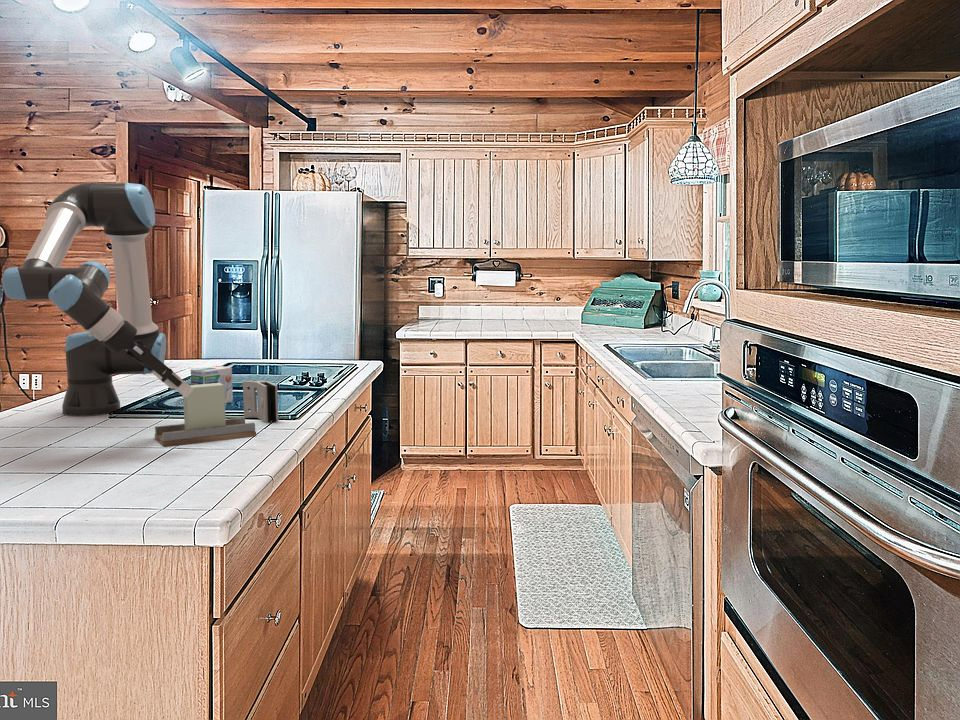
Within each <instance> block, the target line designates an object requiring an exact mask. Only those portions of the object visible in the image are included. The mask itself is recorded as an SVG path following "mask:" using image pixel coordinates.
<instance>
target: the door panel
mask: <svg viewBox="0 0 960 720" xmlns="http://www.w3.org/2000/svg"><path fill="white" fill-rule="evenodd" d="M188 385H189V384H188ZM189 386H191V387H192V388H193V389H194V390H193V391H192V392H191V393H190V394H189V395H188V397H187V398H185V397H184V396H183V395H182V397H183V424H185V430H192V429H201V428H210V427H219V426H226V420H225V419H226V403H225V394H224V385H223V384H221V383H211V384H199V385H191V384H190V385H189Z"/></svg>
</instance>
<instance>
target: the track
mask: <svg viewBox="0 0 960 720" xmlns="http://www.w3.org/2000/svg"><path fill="white" fill-rule="evenodd" d="M225 420H226V426H219V427H210V428H201V429H192V430H185V424H184V423H176V424H167V425H160V426H159V425H157V426H154V438H155V439H154V440H156V441H157V442H159V444H161V445H163V447H165V448H166V447H174V446H182V445H184V446H185V445H190V444H199V443H200V444H201V443H207V442H215V441H224V440H231V439H232V440H233V439H241V438H243V439H244V438H250V437H251V438H252V437H257V431H256V423H255V422H248V423H246V417H245V416H243V417H233V418H225Z"/></svg>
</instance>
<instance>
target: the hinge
mask: <svg viewBox="0 0 960 720" xmlns="http://www.w3.org/2000/svg"><path fill="white" fill-rule="evenodd" d="M242 395H243V396H242V397H243V399H242V400H243V417H249V418H257V419H259V420H261V421H263V422H264V423H269V424H272V423H277V422H279V400H278V399H279V397H278V395H279V392H278V384H275V383H273V382H272V381H267V380H256V381H251V380H243V381H242ZM249 409H250V410H249Z"/></svg>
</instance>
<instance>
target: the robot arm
mask: <svg viewBox="0 0 960 720" xmlns="http://www.w3.org/2000/svg"><path fill="white" fill-rule="evenodd" d="M45 219H46V221H45V222H44V224H43V227H42V228H41V230H40V231H39V234H38V235H37V237H36V238H35V241H34V243H33V245H32V246H31V249H30V250H29V252H28V254H27V255H26V258H25V260H24V261H23V263H22V264H21V266H20V267H19V266H15V267H8V268H6V269H5V270H4V272H3V273H2V278H1V279H2V280H1V281H2V288H3V289H2V290H3V292H4V294H5V296H6V297H7V298H8V299H10V300H18V301H19V300H21V301H23V300H24V301H37V300H38V301H40V300H42V301H43V300H44V301H45V300H46V301H47V300H49V301H51V303H52V304H54V305H55V306H56V307H57V308H58V309H59V310H60V311H62V312H63V313H64V314H66V315H67V316H68V317H70V318H71V319H72V320H73V321H74V322H76V323H77V324H78V325H79V326H81V327H82V328H83V329H84V330H85V331H80V332H75V333H71V334H69V335H67V336H66V338H65V350H64V352H65V364H66V378H67V386H66V387H67V388H66V391H65V395H64V397H63V398H64V399H63V402H62V405H61V407H62V408H61V409H62V410H61V411H62V414H64V415H65V416H73V417H74V416H75V417H77V416H78V417H81V416H83V417H84V416H85V417H86V416H87V417H88V416H89V417H90V416H98V415H99V416H100V415H105V414H111V412H112V413H114V412H113V411H116V410H118V409H120V410H121V402H120V398H119V396H118V394H117V391H116V389H115V386H114V385H113V376H114V375H115V376H116V375H147V374H153V375H154V376H155V377H156V378H158V380H160V381H161V382H162V383H164V384H165V386H167V387H168V388H169V389H171V390H173V389H174V390H175V391H176V392H178V393H179V394H180V395H182V397H183V396H184V397H185V398H187V397H188V395H189V394H190V393H191V392H192V391H193V390H194V389H193V388H192V387H191V386H189V384H188V382H186V381H185V380H184V379H182V377H180V376H179V375H178V374H176V373H175V372H174V371H173V369H172V368H170V367H168V366H167V365H166V364H165V358H166V354H167V352H166V351H167V338H166V337H167V336H166V334H165V333H162V332H160V330H159V326H158V325H157V324H156V323H154V321H153V318H152V317H153V316H152V307H151V306H152V304H151V296H150V295H151V293H150V285H149V272H148V262H147V260H148V259H147V251H146V241H145V240H146V237H148V236H149V234H151V232H150V228H152V227H154V226H155V225H156V211H155V205H154V201H153V198H152V195H151V193H150V191H149V189H148V188H147V187H146V186H145V185H143V184H142V183H141V184H140V183H130V182H85V183H79V184H76V185H74V186H71V187H69V188H68V189H66V190H65V191H63V192H62V193H60V194H58V195H57V197H55V198H54V199H53V200H52V201H51V203H50V204H49V206H48V207H47V209H46V212H45ZM87 227H97V228H99V227H100V228H101V227H102V228H103V233H104V235H105V236H106V237H107V238H108V239H109V240H110V243H111V253H112V262H113V271H114V281H115V289H116V302H117V309H118V311H117V310H116V309H114V308H113V307H112V306H110V305H109V304H108V303H107V302H106V301H104V299H102V298H103V296H104V294H105V293H106V292H107V291H108V288H109V284H110V282H111V273H110V271H109V269H108V268H107V267H106V266H105V264H103V263H101V262H99V261H94V260H89V261H86V262H83V263H82V264H81V265H79V266H78V267H61V266H62V264H63V262H64V260H65V258H66V256H67V254H68V252H69V250H70V248H71V246H72V243H73V241H74V239H75V238H76V236H77V234H78V233H80V232H82V231H83V230H84V228H87ZM118 411H119V410H118ZM116 412H117V411H116Z"/></svg>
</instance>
